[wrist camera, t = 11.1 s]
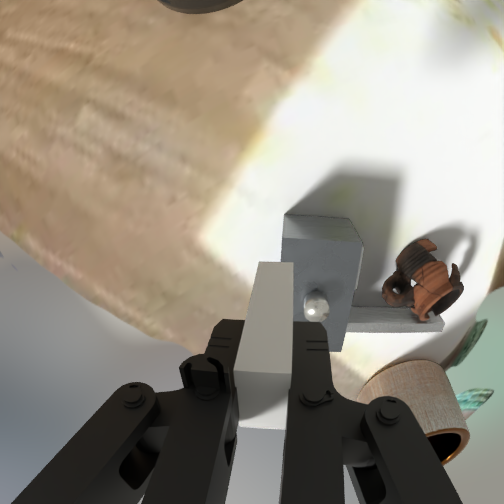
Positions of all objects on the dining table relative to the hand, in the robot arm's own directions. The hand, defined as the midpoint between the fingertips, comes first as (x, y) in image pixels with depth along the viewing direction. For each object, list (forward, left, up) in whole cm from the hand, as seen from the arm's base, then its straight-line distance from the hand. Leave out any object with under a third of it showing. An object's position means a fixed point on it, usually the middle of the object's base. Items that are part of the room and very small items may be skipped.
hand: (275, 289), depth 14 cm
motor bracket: (+10, +12, -24) cm, 29 cm away
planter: (+34, +24, -24) cm, 48 cm away
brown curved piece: (+10, +19, -24) cm, 32 cm away
